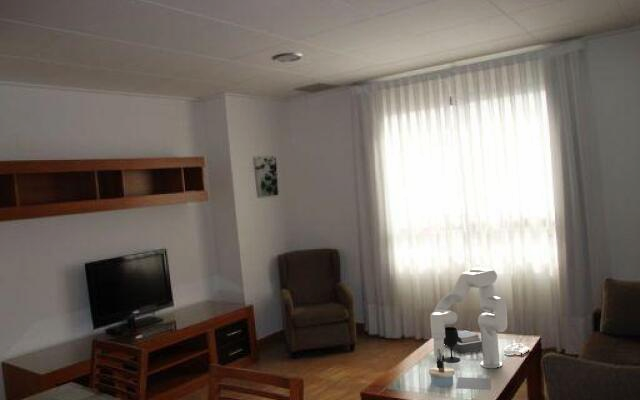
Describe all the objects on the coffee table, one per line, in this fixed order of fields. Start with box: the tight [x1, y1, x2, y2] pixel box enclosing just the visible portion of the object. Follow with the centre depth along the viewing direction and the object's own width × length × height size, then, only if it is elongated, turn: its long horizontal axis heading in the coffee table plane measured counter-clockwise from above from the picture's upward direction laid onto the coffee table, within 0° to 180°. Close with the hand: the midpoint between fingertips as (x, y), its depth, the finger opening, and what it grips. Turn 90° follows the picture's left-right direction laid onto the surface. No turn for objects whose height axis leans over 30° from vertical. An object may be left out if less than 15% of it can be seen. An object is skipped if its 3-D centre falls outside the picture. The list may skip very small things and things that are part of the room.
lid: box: [428, 361, 455, 378], centre depth 297 cm, size 14×14×6 cm
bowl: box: [430, 375, 454, 388], centre depth 297 cm, size 12×12×6 cm
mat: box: [456, 376, 492, 391], centre depth 292 cm, size 16×18×1 cm
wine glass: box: [444, 326, 461, 364], centre depth 333 cm, size 10×10×20 cm
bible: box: [452, 330, 482, 355], centre depth 357 cm, size 23×27×10 cm
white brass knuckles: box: [503, 342, 532, 354], centre depth 338 cm, size 3×18×15 cm
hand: (440, 364), depth 297 cm, fingers open, 9 cm apart
